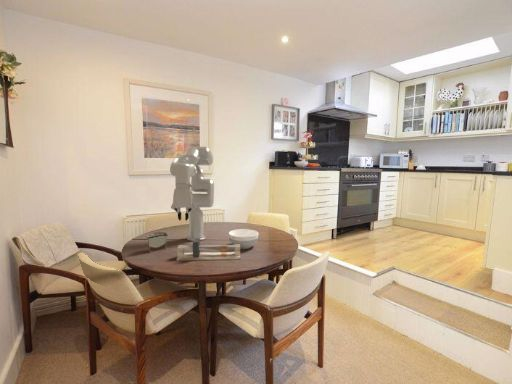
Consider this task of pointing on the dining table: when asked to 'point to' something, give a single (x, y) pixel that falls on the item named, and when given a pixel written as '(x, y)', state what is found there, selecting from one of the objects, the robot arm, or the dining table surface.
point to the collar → (196, 247)
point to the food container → (157, 241)
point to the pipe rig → (209, 255)
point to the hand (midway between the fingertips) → (183, 219)
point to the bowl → (243, 237)
